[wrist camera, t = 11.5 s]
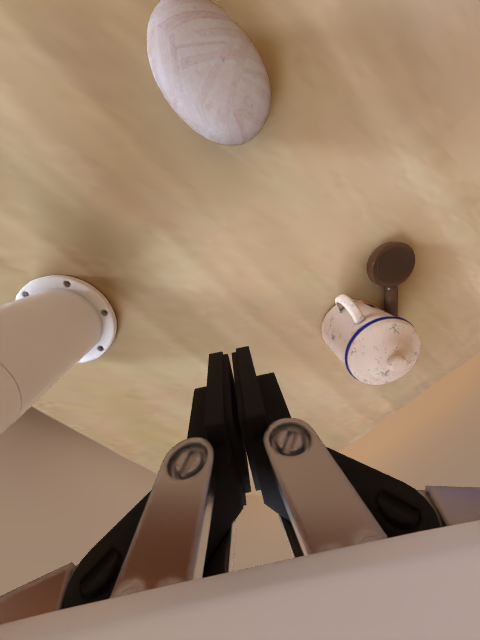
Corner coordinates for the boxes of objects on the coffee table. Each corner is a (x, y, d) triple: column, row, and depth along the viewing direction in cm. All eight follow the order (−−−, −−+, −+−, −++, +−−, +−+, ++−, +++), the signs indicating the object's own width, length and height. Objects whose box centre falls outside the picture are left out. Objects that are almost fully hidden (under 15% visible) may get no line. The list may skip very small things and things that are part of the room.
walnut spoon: (406, 361, 40) (413, 366, 39) (371, 370, 41) (376, 375, 39) (408, 237, 33) (417, 237, 32) (365, 247, 33) (372, 248, 32)
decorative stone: (135, 74, 25) (116, 38, 20) (192, -12, 23) (185, -72, 18) (226, 174, 29) (228, 164, 24) (281, 108, 27) (294, 83, 22)
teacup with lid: (385, 330, 38) (451, 371, 27) (335, 361, 39) (378, 412, 29) (353, 268, 34) (415, 287, 23) (298, 305, 35) (332, 339, 25)
